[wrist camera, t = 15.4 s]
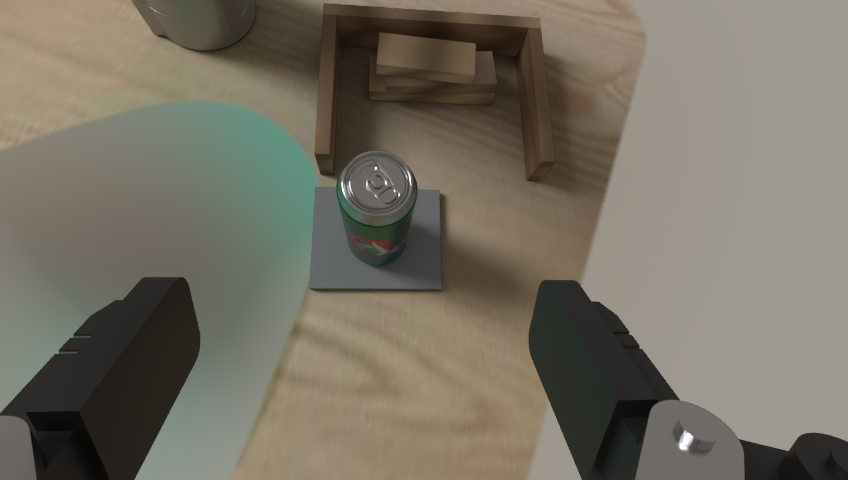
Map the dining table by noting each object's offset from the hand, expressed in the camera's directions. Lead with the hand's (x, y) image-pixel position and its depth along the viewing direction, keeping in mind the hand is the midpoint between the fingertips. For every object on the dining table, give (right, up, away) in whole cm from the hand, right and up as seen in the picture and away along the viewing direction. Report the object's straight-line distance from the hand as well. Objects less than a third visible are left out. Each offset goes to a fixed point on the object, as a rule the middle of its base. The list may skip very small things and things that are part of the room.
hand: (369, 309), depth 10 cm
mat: (-3, +2, +28) cm, 28 cm away
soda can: (-3, +2, +28) cm, 28 cm away
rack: (+2, +14, +32) cm, 35 cm away
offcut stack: (+2, +17, +33) cm, 37 cm away
